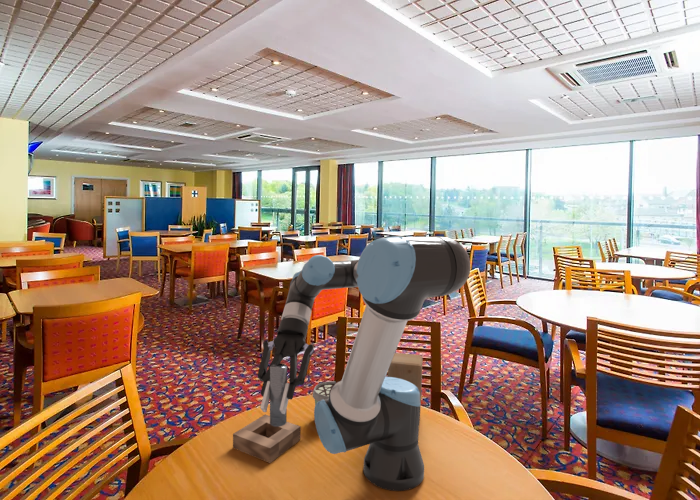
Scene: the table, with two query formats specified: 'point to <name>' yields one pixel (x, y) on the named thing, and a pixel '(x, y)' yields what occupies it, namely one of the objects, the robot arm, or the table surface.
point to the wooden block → (407, 369)
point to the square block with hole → (261, 446)
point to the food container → (323, 391)
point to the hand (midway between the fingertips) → (272, 410)
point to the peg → (277, 393)
